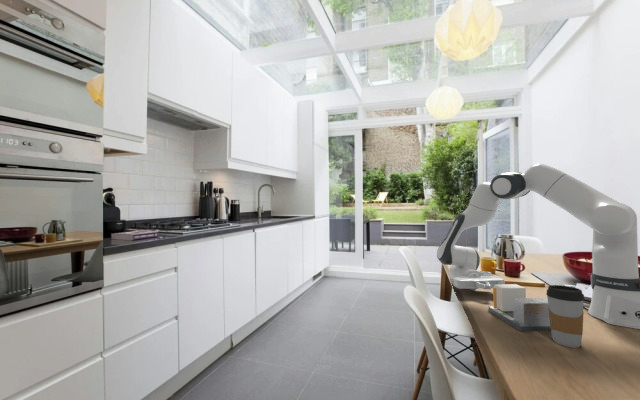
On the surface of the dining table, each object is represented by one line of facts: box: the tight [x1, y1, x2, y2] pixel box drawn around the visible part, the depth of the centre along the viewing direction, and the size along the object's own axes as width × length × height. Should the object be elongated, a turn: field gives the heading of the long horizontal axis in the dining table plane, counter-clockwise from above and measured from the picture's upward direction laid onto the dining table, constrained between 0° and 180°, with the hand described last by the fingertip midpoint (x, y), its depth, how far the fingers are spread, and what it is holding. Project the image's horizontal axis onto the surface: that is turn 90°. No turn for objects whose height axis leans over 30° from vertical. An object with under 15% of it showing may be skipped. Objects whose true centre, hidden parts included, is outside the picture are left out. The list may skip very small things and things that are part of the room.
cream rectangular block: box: [492, 283, 527, 311], centre depth 106 cm, size 6×10×8 cm, turn 89°
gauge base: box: [487, 297, 551, 333], centre depth 100 cm, size 18×12×8 cm, turn 179°
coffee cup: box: [545, 284, 586, 348], centre depth 83 cm, size 8×8×15 cm
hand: (487, 287), depth 120 cm, fingers closed
